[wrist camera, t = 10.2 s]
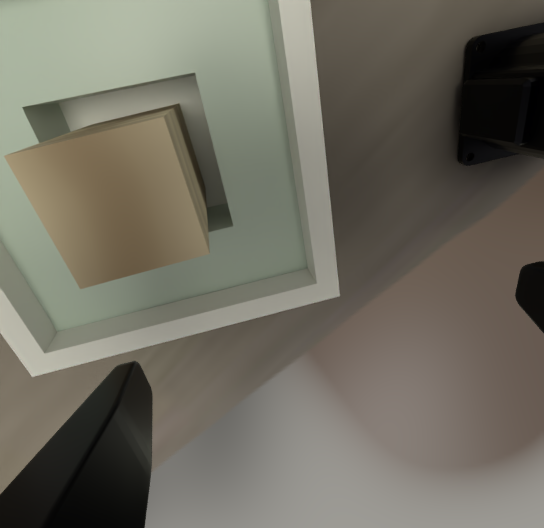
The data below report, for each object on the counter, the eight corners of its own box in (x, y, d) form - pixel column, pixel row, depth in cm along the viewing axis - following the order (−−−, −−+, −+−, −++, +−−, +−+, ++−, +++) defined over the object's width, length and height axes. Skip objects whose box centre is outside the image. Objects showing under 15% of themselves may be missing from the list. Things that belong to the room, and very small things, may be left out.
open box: (262, -49, 15) (297, -125, 9) (305, 244, 21) (339, 296, 16) (-85, 12, 14) (-264, -35, 8) (75, 301, 20) (32, 376, 15)
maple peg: (179, 103, 16) (163, 116, 9) (205, 187, 18) (209, 253, 11) (91, 124, 15) (3, 155, 8) (127, 207, 17) (80, 289, 10)
